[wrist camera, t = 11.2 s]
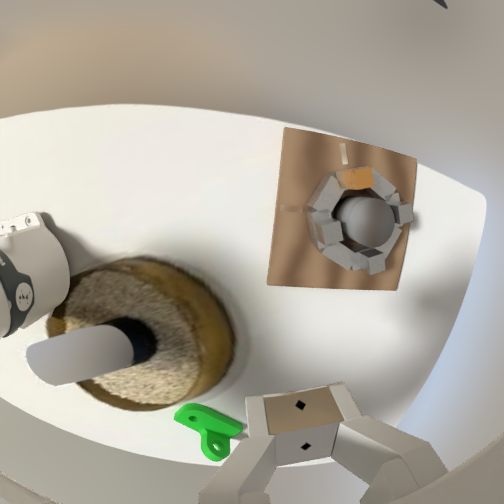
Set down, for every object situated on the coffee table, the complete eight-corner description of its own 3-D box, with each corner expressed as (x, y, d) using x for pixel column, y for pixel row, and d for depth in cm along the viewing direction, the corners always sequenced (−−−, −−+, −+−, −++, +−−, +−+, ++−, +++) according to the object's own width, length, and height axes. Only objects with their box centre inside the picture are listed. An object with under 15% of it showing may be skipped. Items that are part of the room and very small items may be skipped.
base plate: (266, 282, 40) (275, 305, 32) (283, 128, 34) (297, 114, 27) (392, 288, 42) (419, 307, 34) (413, 159, 37) (444, 157, 29)
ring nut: (298, 179, 35) (310, 178, 29) (382, 163, 35) (405, 161, 29) (317, 273, 38) (331, 288, 33) (394, 249, 39) (416, 259, 33)
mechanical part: (241, 423, 47) (243, 453, 39) (223, 436, 48) (224, 464, 40) (191, 398, 44) (187, 429, 36) (175, 412, 45) (169, 442, 37)
